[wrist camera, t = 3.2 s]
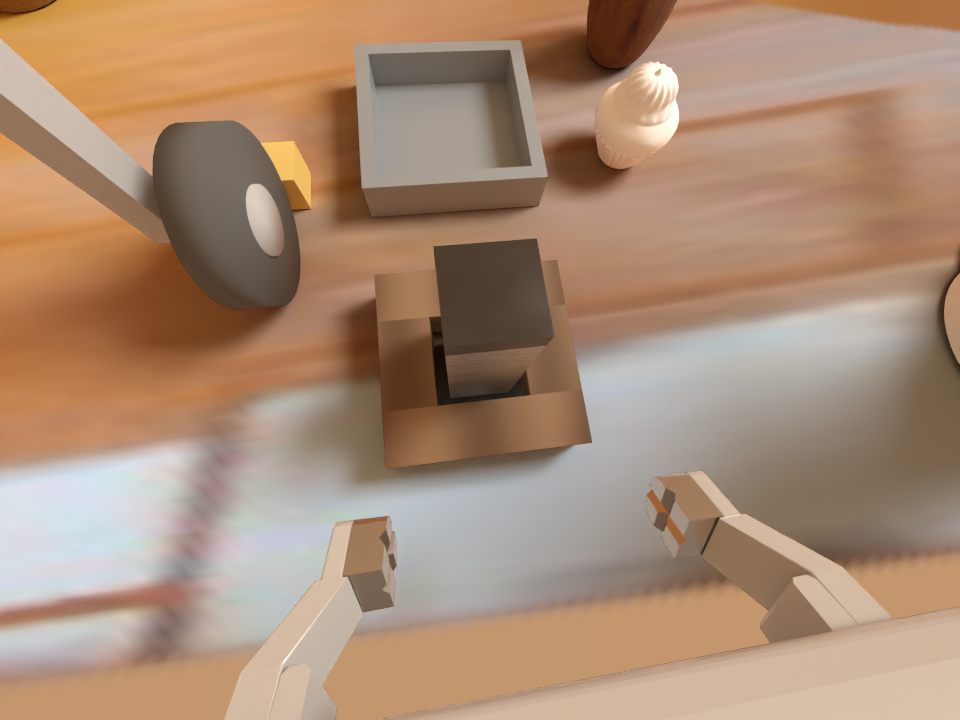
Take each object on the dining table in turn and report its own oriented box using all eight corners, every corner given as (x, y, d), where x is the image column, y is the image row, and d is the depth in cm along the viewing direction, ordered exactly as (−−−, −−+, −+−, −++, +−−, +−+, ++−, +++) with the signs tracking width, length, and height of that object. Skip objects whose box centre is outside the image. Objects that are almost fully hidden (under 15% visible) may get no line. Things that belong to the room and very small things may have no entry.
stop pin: (500, 336, 26) (536, 238, 14) (508, 391, 25) (554, 335, 13) (444, 342, 26) (433, 246, 14) (450, 398, 25) (443, 347, 13)
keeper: (546, 280, 27) (556, 260, 24) (576, 444, 24) (592, 442, 21) (383, 295, 26) (374, 275, 23) (394, 467, 23) (385, 469, 20)
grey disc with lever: (310, 173, 28) (155, -122, 14) (312, 327, 25) (115, 157, 11) (221, 178, 28) (-38, -124, 13) (212, 337, 25) (-140, 170, 10)
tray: (514, 78, 32) (520, 39, 29) (538, 205, 29) (548, 176, 26) (364, 84, 31) (354, 44, 28) (372, 217, 28) (361, 188, 25)
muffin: (583, 183, 30) (621, 103, 23) (577, 123, 31) (610, 31, 24) (657, 185, 30) (715, 107, 23) (647, 125, 32) (699, 36, 25)
